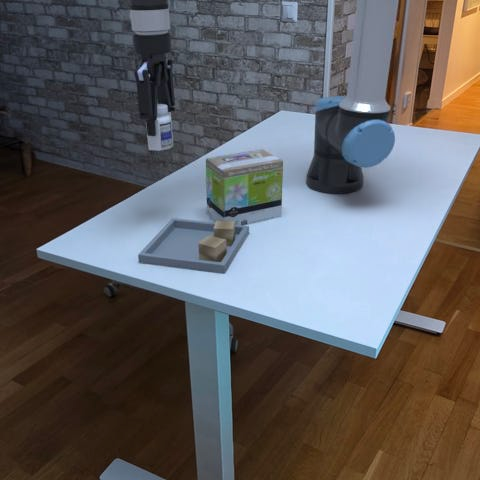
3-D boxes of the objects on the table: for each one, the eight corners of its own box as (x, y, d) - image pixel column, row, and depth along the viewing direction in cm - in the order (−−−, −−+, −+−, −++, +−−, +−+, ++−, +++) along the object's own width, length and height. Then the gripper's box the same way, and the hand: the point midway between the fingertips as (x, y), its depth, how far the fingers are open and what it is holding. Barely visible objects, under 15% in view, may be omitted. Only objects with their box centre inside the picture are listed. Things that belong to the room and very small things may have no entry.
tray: (249, 236, 124) (248, 226, 123) (224, 276, 109) (224, 265, 108) (172, 227, 129) (172, 218, 128) (139, 265, 113) (138, 254, 112)
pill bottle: (150, 143, 125) (146, 103, 121) (173, 142, 125) (171, 102, 121) (148, 151, 120) (144, 109, 116) (172, 150, 120) (169, 108, 116)
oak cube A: (235, 237, 122) (234, 220, 121) (233, 246, 119) (232, 229, 117) (216, 237, 123) (216, 220, 121) (214, 245, 119) (213, 228, 117)
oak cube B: (226, 257, 115) (226, 239, 113) (215, 265, 111) (215, 247, 110) (210, 252, 116) (209, 235, 115) (199, 260, 113) (198, 243, 112)
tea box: (225, 233, 126) (223, 170, 119) (206, 217, 134) (203, 157, 127) (283, 219, 132) (284, 158, 125) (261, 204, 140) (261, 147, 133)
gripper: (153, 26, 121) (162, 132, 131) (111, 37, 105) (125, 157, 116) (186, 27, 119) (192, 135, 129) (148, 38, 103) (159, 160, 113)
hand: (160, 145), depth 122 cm, fingers closed on pill bottle, 5 cm apart
